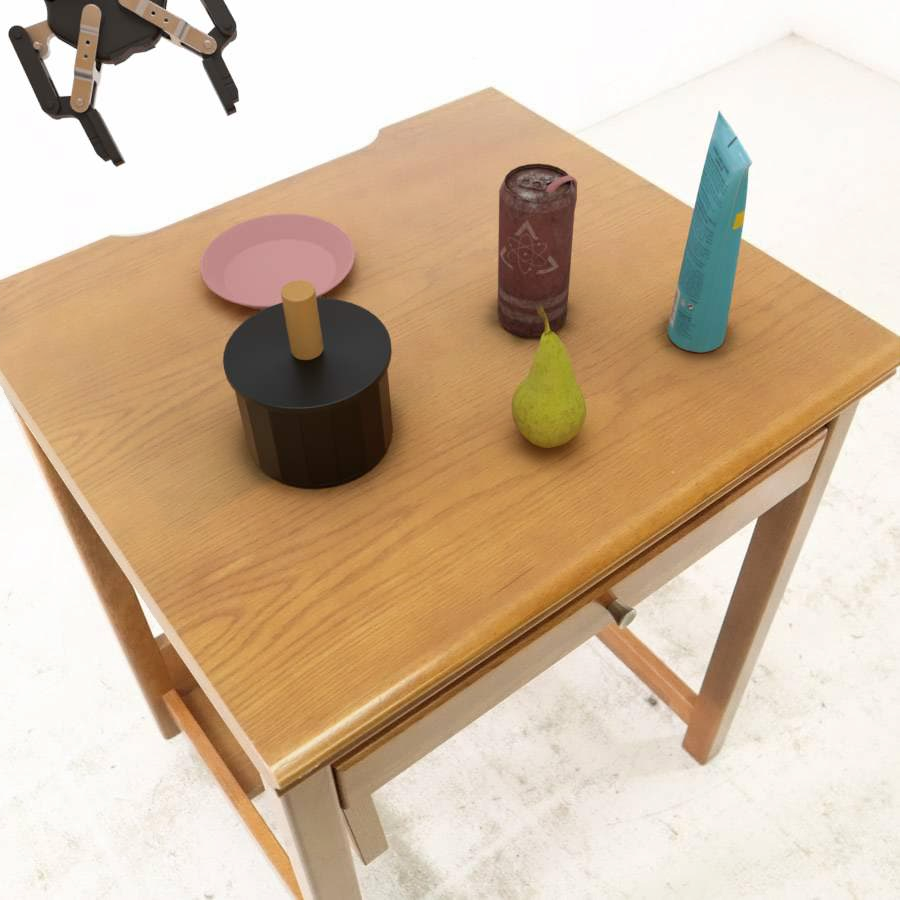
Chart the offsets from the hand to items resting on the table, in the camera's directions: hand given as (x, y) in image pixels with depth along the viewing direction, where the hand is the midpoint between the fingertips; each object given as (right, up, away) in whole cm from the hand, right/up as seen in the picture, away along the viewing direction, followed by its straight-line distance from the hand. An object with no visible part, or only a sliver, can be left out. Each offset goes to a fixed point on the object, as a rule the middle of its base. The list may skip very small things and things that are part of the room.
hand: (176, 138), depth 74 cm
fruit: (+27, -21, +10) cm, 35 cm away
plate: (+3, -5, +26) cm, 27 cm away
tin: (+9, -21, +11) cm, 25 cm away
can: (+26, -10, +21) cm, 35 cm away
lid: (+8, -15, +5) cm, 18 cm away
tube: (+40, -12, +19) cm, 46 cm away
